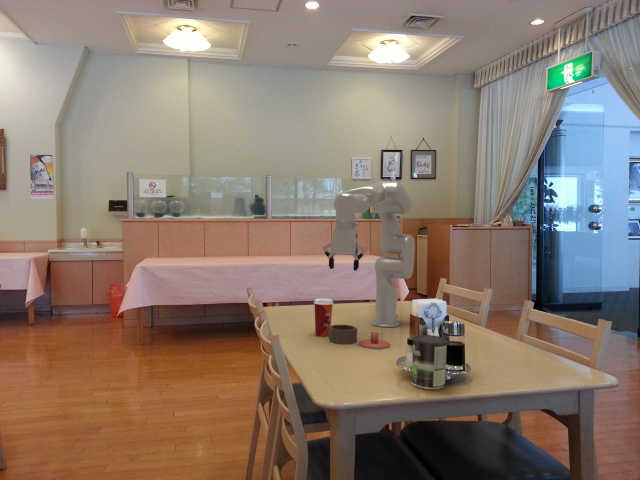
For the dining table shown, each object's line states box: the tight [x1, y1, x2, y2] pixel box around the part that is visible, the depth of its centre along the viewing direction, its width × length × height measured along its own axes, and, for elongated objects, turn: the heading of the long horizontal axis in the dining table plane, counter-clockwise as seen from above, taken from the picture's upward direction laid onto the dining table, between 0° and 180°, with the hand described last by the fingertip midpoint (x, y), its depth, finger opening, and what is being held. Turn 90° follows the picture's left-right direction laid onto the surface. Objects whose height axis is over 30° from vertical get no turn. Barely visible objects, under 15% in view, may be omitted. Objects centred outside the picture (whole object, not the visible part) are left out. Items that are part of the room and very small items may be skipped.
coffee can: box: [410, 334, 448, 388], centre depth 164 cm, size 10×10×14 cm
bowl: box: [328, 324, 358, 345], centre depth 215 cm, size 10×10×6 cm
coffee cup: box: [313, 297, 334, 338], centre depth 227 cm, size 8×8×15 cm
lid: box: [358, 331, 391, 350], centre depth 210 cm, size 12×12×5 cm
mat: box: [354, 343, 394, 351], centre depth 210 cm, size 11×11×1 cm
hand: (343, 269), depth 211 cm, fingers open, 9 cm apart
